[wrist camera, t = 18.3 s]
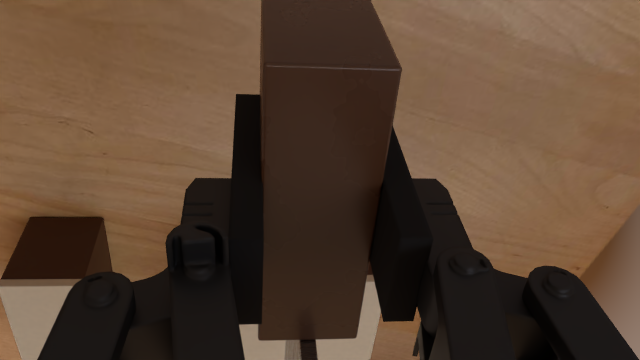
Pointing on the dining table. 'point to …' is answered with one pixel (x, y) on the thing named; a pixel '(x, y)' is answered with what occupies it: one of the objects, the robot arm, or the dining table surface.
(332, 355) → the beige square block
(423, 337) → the robot arm
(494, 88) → the dining table surface
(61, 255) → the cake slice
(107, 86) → the dining table surface
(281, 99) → the knife
